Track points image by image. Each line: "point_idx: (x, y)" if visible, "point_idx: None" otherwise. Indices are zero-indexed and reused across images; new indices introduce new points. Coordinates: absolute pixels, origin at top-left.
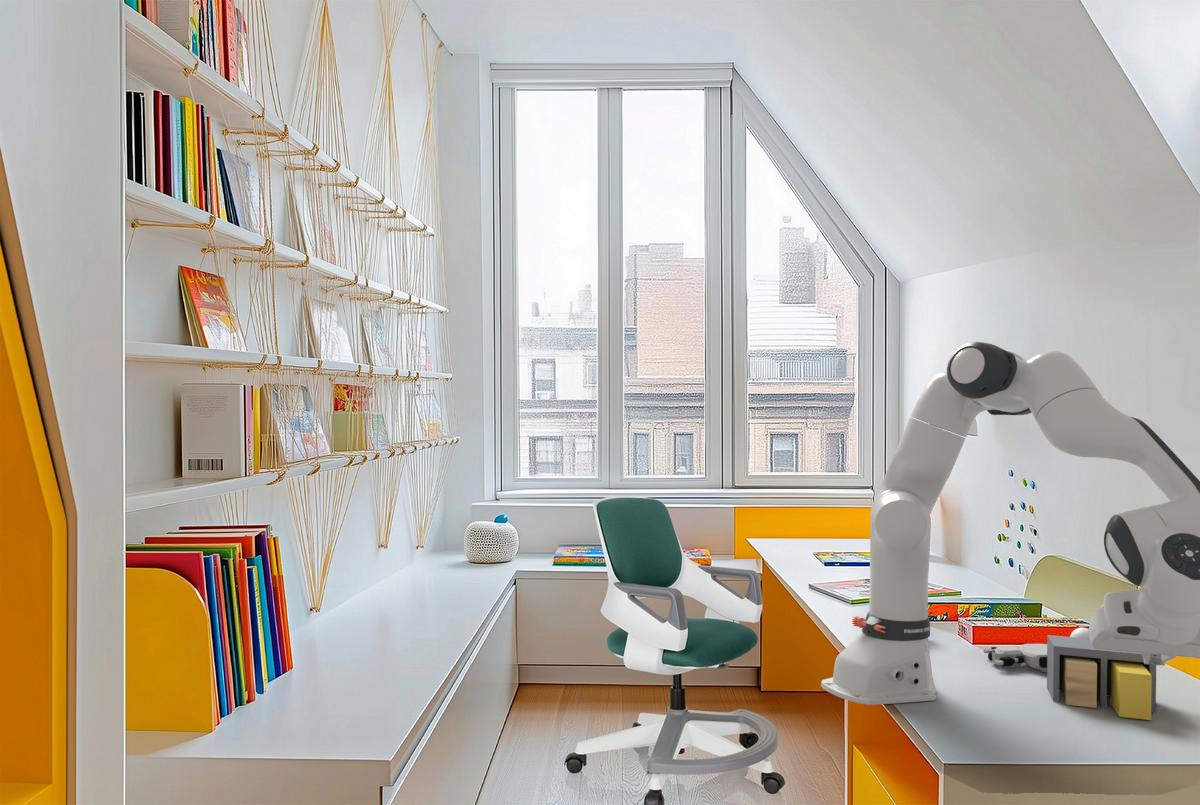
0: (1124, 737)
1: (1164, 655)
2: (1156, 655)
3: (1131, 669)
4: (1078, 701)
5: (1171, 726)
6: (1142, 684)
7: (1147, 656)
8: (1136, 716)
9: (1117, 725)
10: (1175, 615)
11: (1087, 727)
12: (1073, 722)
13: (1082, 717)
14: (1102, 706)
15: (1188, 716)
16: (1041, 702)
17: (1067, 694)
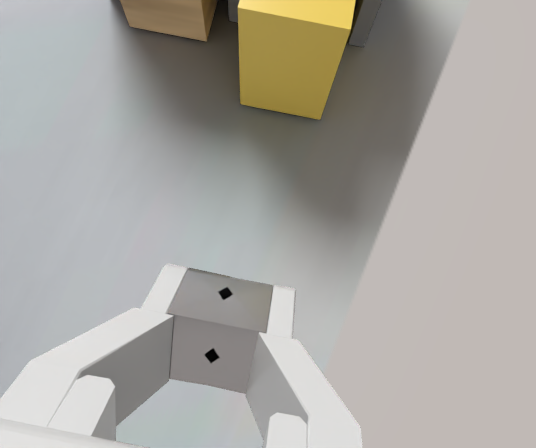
0: None
1: (264, 407)
2: (221, 356)
3: None
4: (158, 23)
5: (362, 148)
6: (312, 50)
7: (122, 418)
8: (284, 109)
9: (208, 166)
10: None
11: (108, 198)
12: (85, 162)
13: (134, 114)
14: (233, 21)
15: (440, 61)
16: (71, 9)
17: (124, 4)
